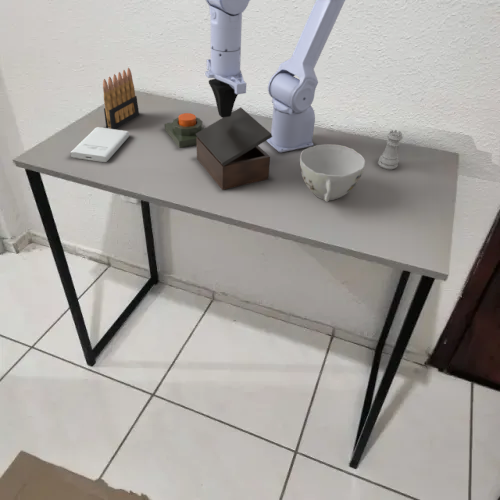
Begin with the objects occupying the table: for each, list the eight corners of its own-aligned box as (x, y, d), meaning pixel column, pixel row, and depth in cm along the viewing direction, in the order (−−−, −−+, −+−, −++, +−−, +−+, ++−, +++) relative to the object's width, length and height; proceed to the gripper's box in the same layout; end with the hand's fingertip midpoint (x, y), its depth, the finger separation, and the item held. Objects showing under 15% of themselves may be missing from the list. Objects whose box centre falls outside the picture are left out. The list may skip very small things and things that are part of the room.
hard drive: (129, 137, 110) (106, 162, 100) (96, 133, 111) (71, 157, 101) (128, 131, 109) (105, 156, 99) (95, 126, 110) (69, 150, 100)
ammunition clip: (133, 113, 120) (127, 65, 112) (139, 115, 120) (134, 67, 112) (106, 129, 113) (98, 79, 105) (112, 131, 112) (104, 81, 104)
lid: (241, 110, 101) (240, 107, 101) (272, 136, 92) (271, 133, 92) (196, 136, 100) (195, 133, 100) (223, 166, 91) (222, 163, 90)
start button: (176, 121, 110) (176, 114, 109) (192, 118, 112) (192, 111, 111) (182, 128, 108) (182, 121, 107) (198, 125, 109) (198, 118, 108)
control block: (165, 130, 114) (163, 116, 112) (195, 124, 117) (195, 111, 115) (179, 148, 107) (178, 134, 105) (211, 142, 110) (211, 128, 108)
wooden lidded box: (239, 150, 108) (240, 129, 104) (268, 179, 98) (270, 156, 95) (196, 159, 104) (196, 137, 100) (222, 190, 94) (222, 166, 91)
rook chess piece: (399, 163, 106) (408, 130, 101) (395, 172, 103) (404, 139, 98) (379, 158, 108) (387, 126, 102) (375, 167, 104) (383, 134, 99)
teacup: (299, 173, 101) (304, 139, 96) (358, 181, 99) (366, 147, 94) (290, 212, 90) (294, 175, 84) (356, 222, 88) (364, 185, 83)
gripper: (191, 38, 92) (193, 105, 100) (222, 61, 82) (221, 133, 91) (224, 35, 94) (223, 100, 103) (257, 57, 85) (253, 127, 93)
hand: (224, 115), depth 97 cm, fingers closed
